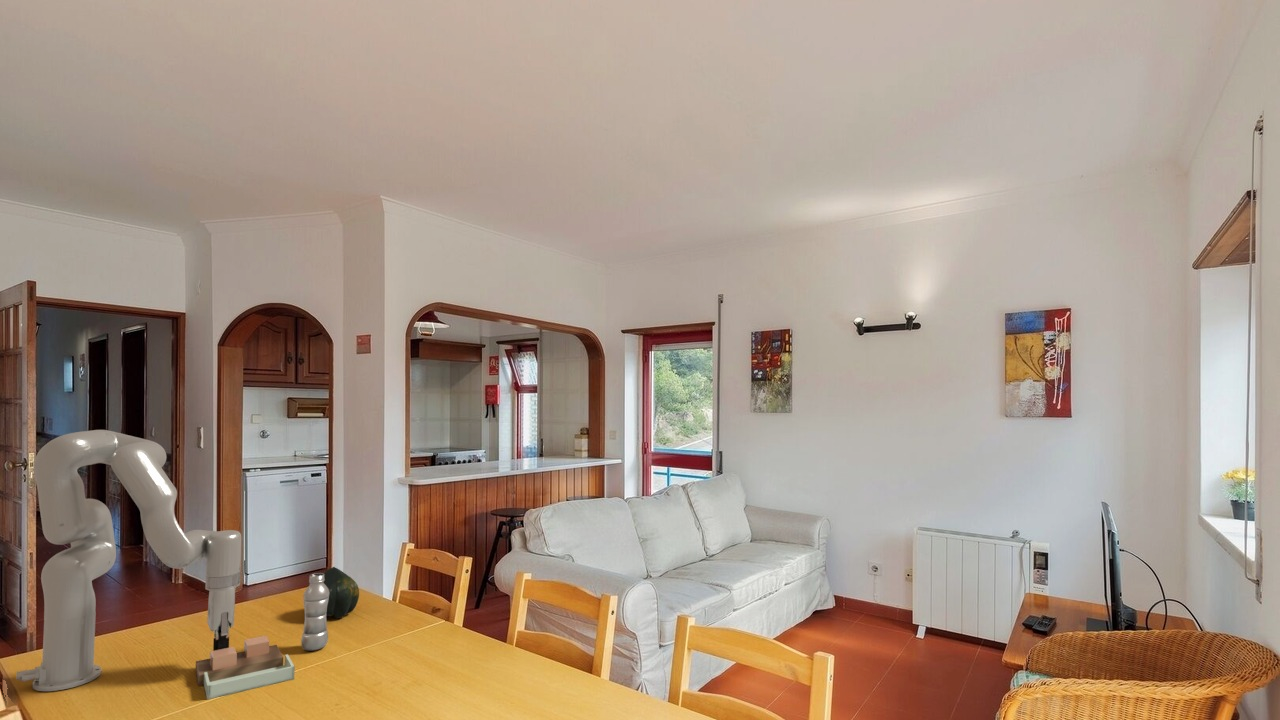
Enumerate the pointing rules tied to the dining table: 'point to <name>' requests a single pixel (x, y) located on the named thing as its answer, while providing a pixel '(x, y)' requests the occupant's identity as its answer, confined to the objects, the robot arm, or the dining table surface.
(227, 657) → the tile
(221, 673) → the board
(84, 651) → the robot arm
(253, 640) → the tile
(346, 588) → the squash
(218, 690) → the tray
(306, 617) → the plastic bottle
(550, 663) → the dining table surface
